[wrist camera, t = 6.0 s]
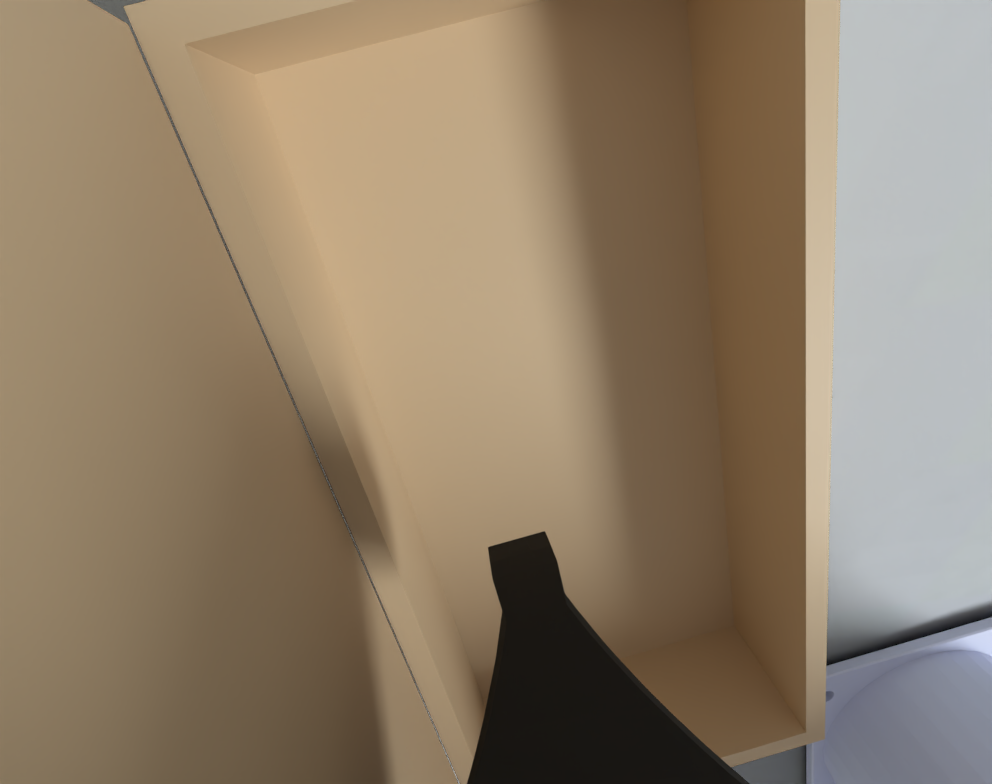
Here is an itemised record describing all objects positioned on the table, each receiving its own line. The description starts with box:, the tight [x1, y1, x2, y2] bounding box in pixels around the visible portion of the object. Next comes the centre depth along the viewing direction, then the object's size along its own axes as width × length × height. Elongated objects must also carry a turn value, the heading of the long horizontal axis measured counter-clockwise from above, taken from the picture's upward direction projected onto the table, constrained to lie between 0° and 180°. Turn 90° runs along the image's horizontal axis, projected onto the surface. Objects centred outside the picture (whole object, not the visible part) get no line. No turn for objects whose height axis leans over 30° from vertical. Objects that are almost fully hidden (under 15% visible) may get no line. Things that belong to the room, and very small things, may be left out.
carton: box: [123, 0, 840, 784], centre depth 12 cm, size 18×9×4 cm, turn 13°
